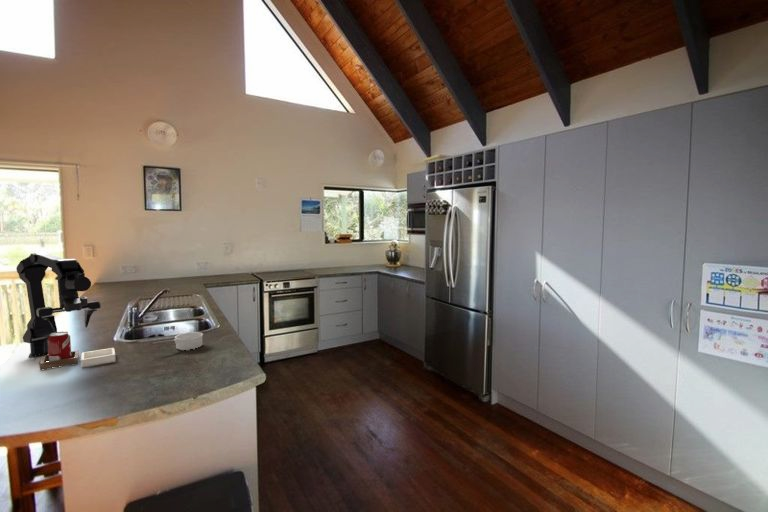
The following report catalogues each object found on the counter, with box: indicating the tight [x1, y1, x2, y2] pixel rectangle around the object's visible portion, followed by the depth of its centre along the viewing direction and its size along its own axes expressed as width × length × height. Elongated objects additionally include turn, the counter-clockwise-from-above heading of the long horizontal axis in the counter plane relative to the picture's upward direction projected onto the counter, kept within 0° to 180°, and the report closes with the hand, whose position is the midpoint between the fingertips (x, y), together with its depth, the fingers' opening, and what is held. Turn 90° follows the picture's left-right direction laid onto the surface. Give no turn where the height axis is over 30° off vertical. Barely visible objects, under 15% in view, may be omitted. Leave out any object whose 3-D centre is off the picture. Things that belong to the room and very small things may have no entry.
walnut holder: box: [39, 350, 80, 371], centre depth 146 cm, size 11×11×2 cm
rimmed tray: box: [80, 347, 116, 368], centre depth 149 cm, size 11×11×3 cm
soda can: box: [48, 331, 72, 362], centre depth 146 cm, size 7×7×12 cm
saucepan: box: [152, 331, 204, 351], centre depth 163 cm, size 12×20×6 cm, turn 138°
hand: (71, 329), depth 145 cm, fingers open, 9 cm apart
